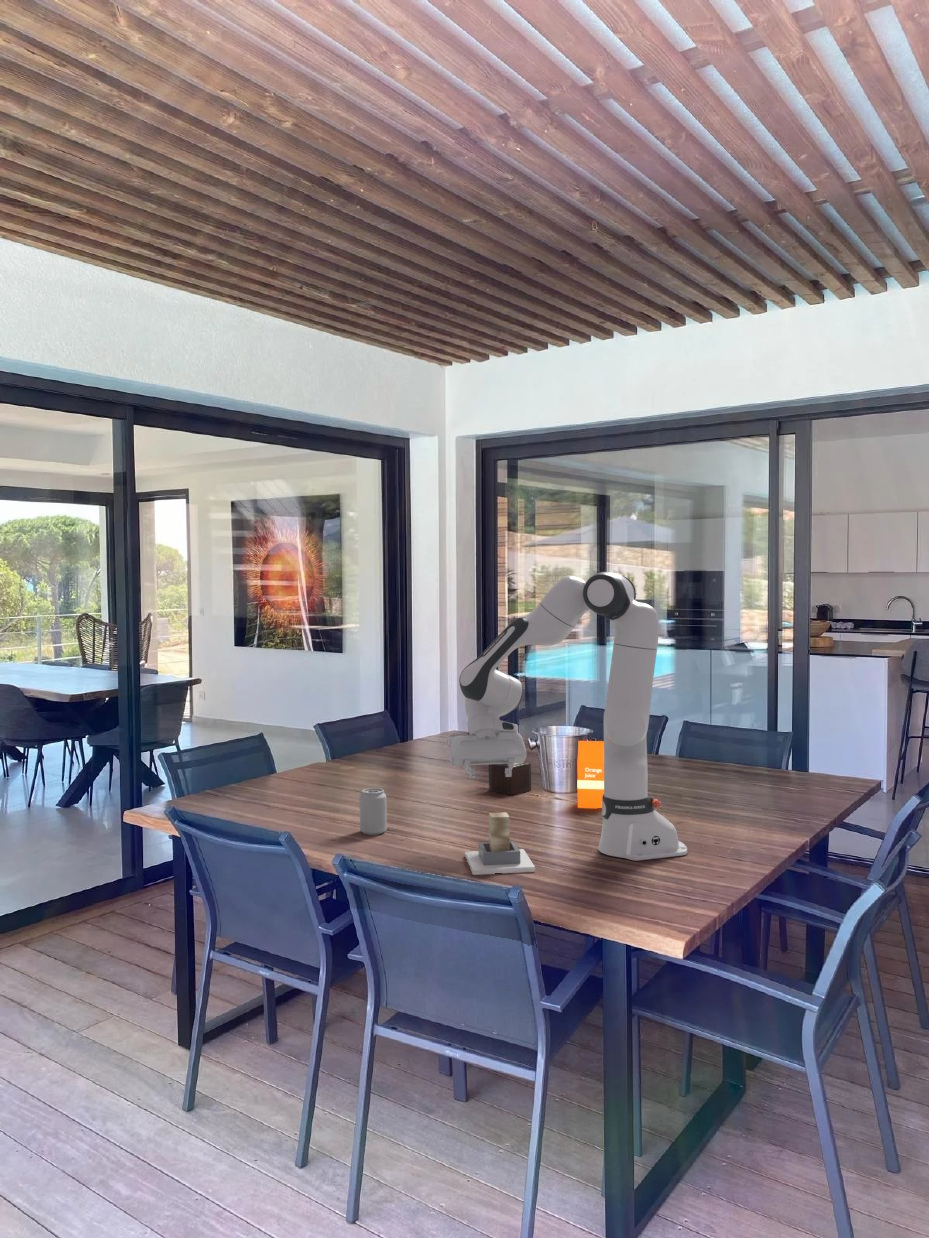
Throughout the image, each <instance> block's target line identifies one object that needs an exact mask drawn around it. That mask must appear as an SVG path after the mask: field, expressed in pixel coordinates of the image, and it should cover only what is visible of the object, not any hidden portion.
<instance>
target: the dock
mask: <svg viewBox="0 0 929 1238" xmlns="http://www.w3.org/2000/svg"><path fill="white" fill-rule="evenodd" d="M477 845H478V850H472V851H470V850H469V851H464V857H465V859H467V860H466V861H467V863H468V866H470V867H469V868H470V872H471V875H474V876H478V875H496V874H495V873H502V874H515V873H517V874H519V873H520V874H521V873H535V872H536V865H535V864H534V863H533V862H532V860H531V858H530V857H529V855H528V853H527V852H526V851H525V849H524V848H519V847H518V845H517V844H516V843H515V841H514V840H513V841H511V840H510V851H493V852H489V841H487V842H486V841H485V842H478V844H477Z"/></svg>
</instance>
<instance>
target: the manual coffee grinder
mask: <svg viewBox="0 0 929 1238" xmlns="http://www.w3.org/2000/svg"><path fill="white" fill-rule="evenodd" d="M505 768H509V766H508V764H488V785H489V786H488V787H489V788H488V791H489V790H490V791H489V792H491V791H492V793H495V792H496V794H501V795H505V794H506V796H514V795H515V796H517V795H519V794H524V793H527V792H531V791H532V763H531V762H528V761H527V762H526V761H524V762H523V763H514V766H513V768H512V770H511V771H512V775H511V777H506V776H505V775H506V774H505Z"/></svg>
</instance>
